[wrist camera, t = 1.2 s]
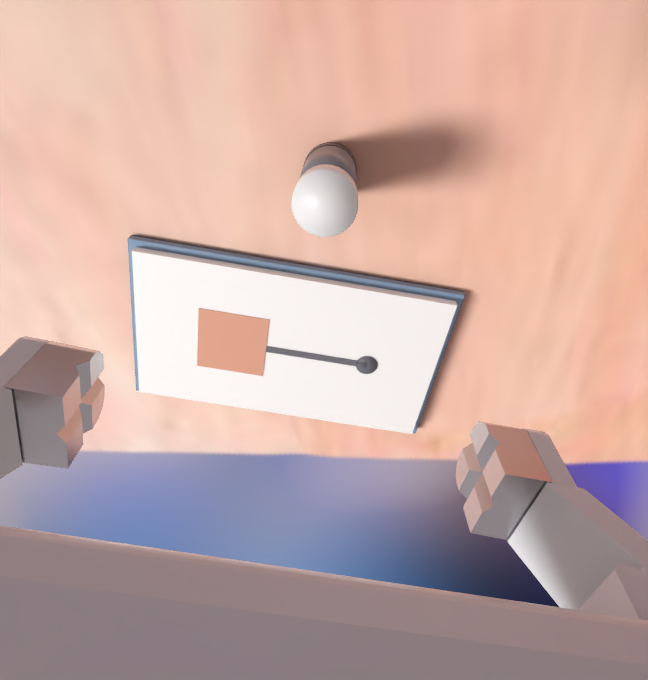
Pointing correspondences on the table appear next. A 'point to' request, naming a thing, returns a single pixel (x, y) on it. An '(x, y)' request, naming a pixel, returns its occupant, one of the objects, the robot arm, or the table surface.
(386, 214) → the table surface
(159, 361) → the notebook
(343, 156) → the white-topped grey cylinder
